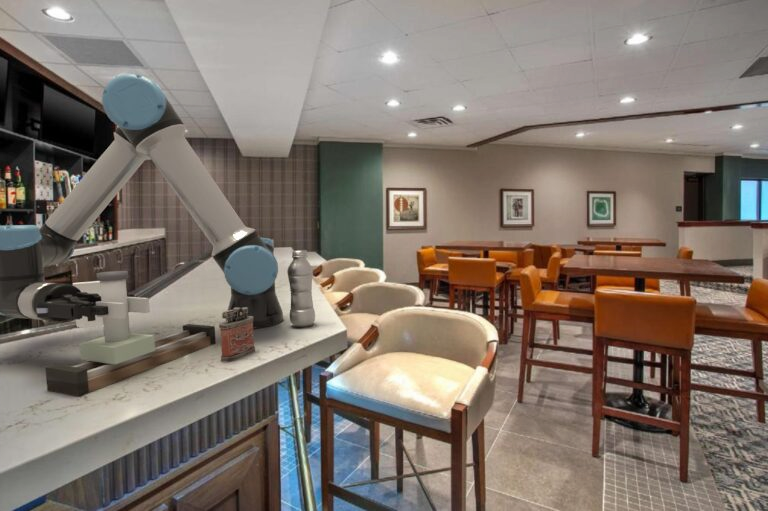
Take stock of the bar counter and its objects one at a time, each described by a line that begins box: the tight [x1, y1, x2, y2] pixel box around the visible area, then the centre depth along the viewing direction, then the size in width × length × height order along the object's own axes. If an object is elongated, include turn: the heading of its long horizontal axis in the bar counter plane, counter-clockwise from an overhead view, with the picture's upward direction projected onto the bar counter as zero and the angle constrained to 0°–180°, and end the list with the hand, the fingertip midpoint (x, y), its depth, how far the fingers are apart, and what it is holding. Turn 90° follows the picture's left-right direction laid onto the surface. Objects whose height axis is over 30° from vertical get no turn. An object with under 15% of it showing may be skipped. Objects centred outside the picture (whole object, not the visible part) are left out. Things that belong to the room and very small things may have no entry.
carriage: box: [79, 270, 155, 364], centre depth 76 cm, size 8×9×16 cm
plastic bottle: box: [286, 249, 316, 328], centre depth 108 cm, size 6×7×20 cm
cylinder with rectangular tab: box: [72, 280, 103, 329], centre depth 117 cm, size 9×9×12 cm
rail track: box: [44, 323, 216, 397], centre depth 82 cm, size 30×8×4 cm, turn 159°
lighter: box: [218, 307, 256, 363], centre depth 85 cm, size 8×3×10 cm, turn 152°
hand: (135, 308), depth 74 cm, fingers closed on carriage, 4 cm apart
